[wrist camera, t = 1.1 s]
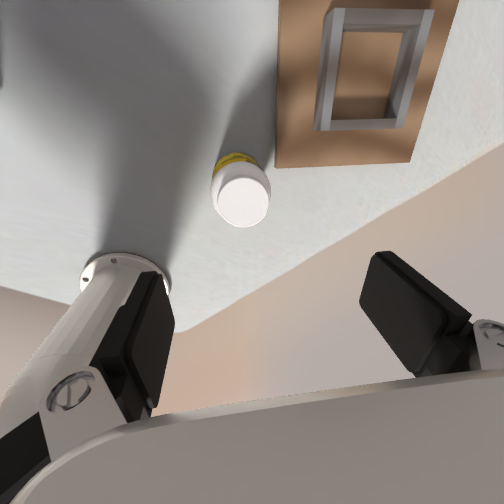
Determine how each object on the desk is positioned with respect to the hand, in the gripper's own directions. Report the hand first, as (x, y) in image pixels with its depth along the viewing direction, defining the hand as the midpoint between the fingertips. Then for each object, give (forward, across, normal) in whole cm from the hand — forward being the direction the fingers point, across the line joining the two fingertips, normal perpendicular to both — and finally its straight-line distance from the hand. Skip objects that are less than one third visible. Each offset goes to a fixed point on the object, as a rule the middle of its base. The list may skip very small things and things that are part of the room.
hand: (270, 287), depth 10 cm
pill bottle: (+23, 0, 0) cm, 23 cm away
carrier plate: (+23, -14, -10) cm, 29 cm away
